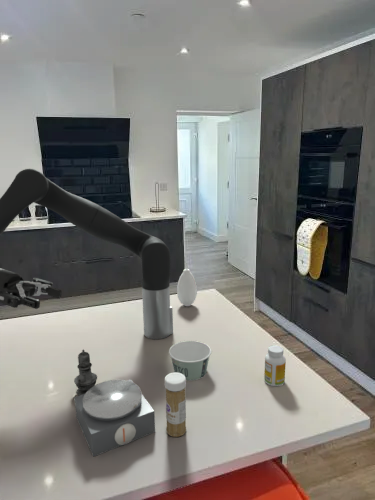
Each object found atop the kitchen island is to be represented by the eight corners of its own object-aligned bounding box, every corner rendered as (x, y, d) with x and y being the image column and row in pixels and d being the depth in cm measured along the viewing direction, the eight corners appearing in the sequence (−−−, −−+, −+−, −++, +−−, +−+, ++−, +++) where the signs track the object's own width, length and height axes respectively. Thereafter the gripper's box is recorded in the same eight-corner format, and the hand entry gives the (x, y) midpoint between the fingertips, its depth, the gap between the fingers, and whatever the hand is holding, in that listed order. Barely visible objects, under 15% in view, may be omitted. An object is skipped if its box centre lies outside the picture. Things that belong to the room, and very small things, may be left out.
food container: (218, 366, 110) (218, 345, 108) (199, 388, 100) (199, 366, 98) (182, 356, 116) (181, 336, 114) (161, 376, 105) (160, 355, 104)
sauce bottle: (185, 300, 159) (184, 259, 155) (200, 304, 155) (200, 262, 151) (173, 306, 153) (172, 264, 149) (189, 310, 149) (189, 267, 144)
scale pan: (129, 383, 94) (129, 373, 94) (151, 412, 83) (150, 402, 83) (77, 400, 88) (76, 390, 87) (93, 434, 77) (92, 423, 76)
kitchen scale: (131, 398, 96) (130, 379, 95) (156, 433, 84) (155, 412, 82) (76, 417, 89) (74, 397, 88) (94, 458, 77) (92, 436, 76)
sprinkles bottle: (162, 431, 84) (160, 378, 81) (175, 420, 88) (174, 369, 84) (177, 441, 81) (176, 386, 78) (190, 429, 85) (190, 376, 81)
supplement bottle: (285, 377, 104) (287, 345, 102) (283, 388, 99) (285, 355, 97) (265, 374, 106) (266, 342, 103) (262, 384, 101) (264, 352, 98)
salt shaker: (92, 398, 96) (88, 356, 93) (71, 396, 97) (66, 354, 94) (102, 385, 102) (98, 344, 99) (81, 383, 103) (78, 342, 100)
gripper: (-23, 276, 93) (32, 294, 89) (19, 263, 107) (68, 278, 102) (-24, 304, 95) (29, 323, 91) (17, 288, 109) (65, 303, 104)
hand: (50, 299), depth 97 cm, fingers open, 8 cm apart
